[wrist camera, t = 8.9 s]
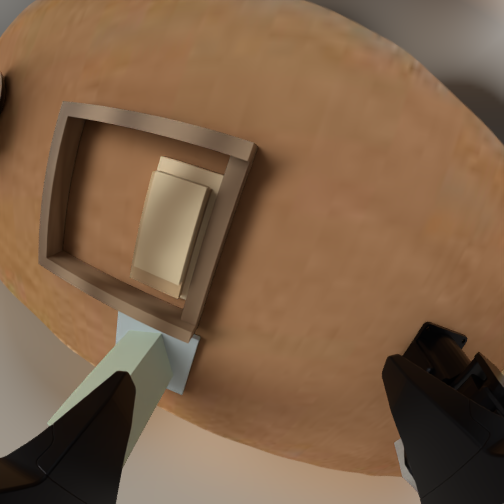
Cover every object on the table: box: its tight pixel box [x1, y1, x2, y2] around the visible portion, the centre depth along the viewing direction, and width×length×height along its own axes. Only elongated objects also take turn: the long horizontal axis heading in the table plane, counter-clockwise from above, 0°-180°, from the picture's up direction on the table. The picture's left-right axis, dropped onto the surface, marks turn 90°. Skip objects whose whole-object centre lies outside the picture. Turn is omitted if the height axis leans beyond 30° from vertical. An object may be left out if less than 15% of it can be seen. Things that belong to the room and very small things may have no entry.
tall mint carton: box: [47, 330, 173, 466], centre depth 18 cm, size 4×5×13 cm
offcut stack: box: [130, 156, 224, 300], centre depth 19 cm, size 5×10×2 cm, turn 160°
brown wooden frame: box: [39, 101, 258, 343], centre depth 19 cm, size 17×15×2 cm
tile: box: [116, 311, 200, 395], centre depth 24 cm, size 8×8×1 cm
